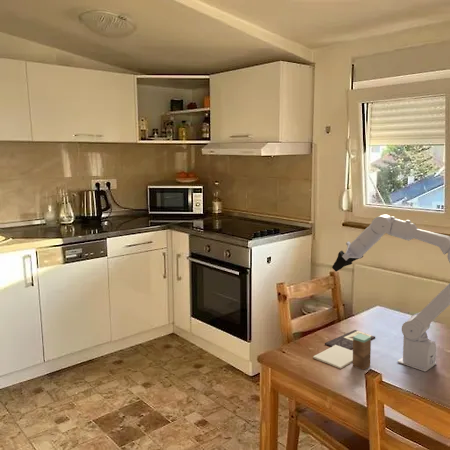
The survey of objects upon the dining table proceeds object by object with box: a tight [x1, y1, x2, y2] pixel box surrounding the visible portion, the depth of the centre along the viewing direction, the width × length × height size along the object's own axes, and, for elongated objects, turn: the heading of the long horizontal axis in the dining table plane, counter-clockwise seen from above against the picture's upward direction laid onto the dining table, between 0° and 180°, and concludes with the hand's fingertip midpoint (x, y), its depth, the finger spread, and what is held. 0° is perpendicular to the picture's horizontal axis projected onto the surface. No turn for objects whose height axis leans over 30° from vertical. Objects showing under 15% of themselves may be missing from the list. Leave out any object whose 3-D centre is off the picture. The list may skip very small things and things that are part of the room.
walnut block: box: [352, 334, 372, 371], centre depth 148 cm, size 4×4×10 cm
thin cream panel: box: [312, 345, 353, 370], centre depth 155 cm, size 11×13×1 cm
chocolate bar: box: [324, 329, 376, 351], centre depth 168 cm, size 9×1×18 cm
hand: (338, 266), depth 162 cm, fingers open, 7 cm apart
